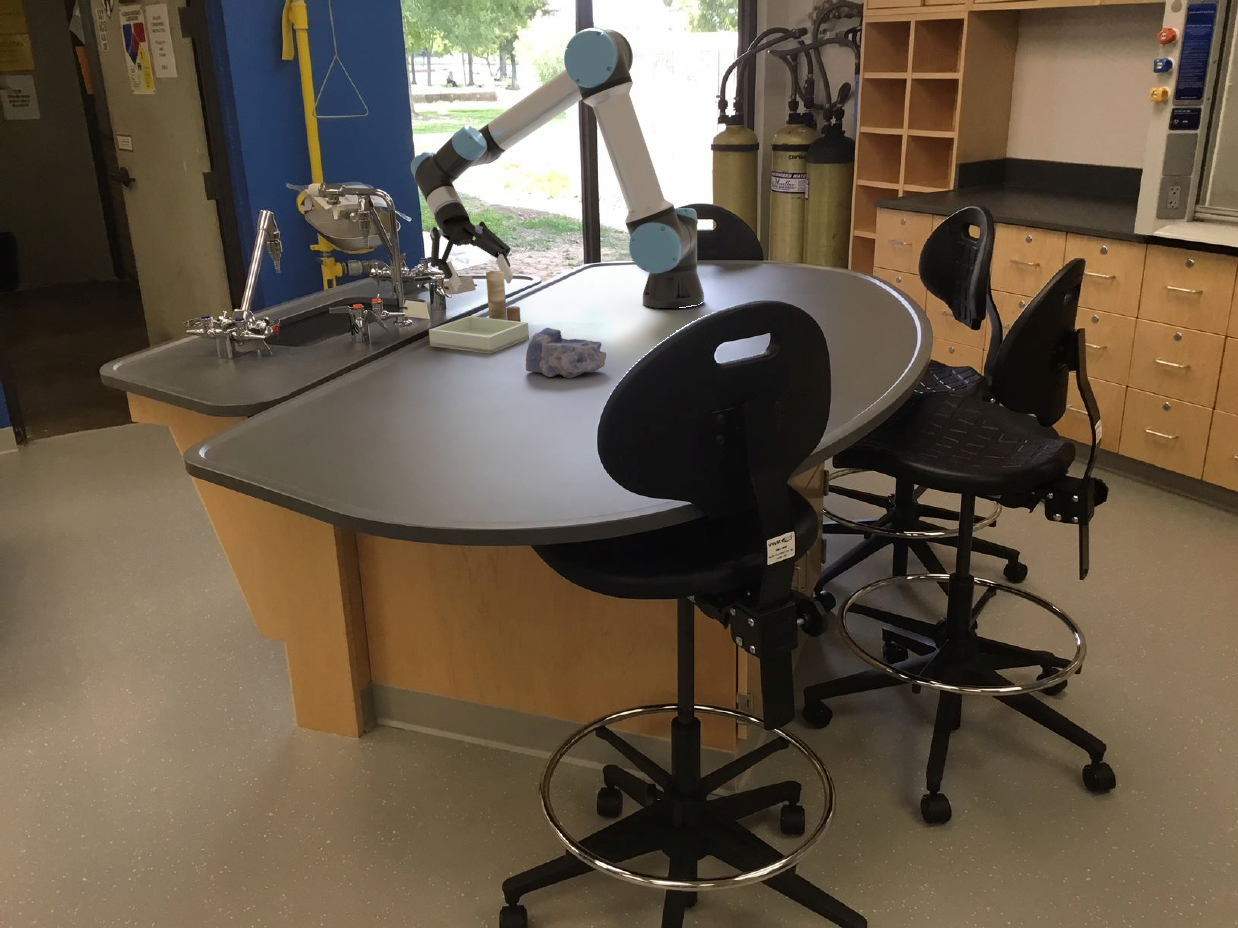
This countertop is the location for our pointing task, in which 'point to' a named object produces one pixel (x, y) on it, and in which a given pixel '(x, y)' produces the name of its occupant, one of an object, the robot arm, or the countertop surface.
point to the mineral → (562, 354)
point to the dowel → (496, 295)
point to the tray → (479, 334)
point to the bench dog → (513, 313)
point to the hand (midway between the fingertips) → (485, 284)
